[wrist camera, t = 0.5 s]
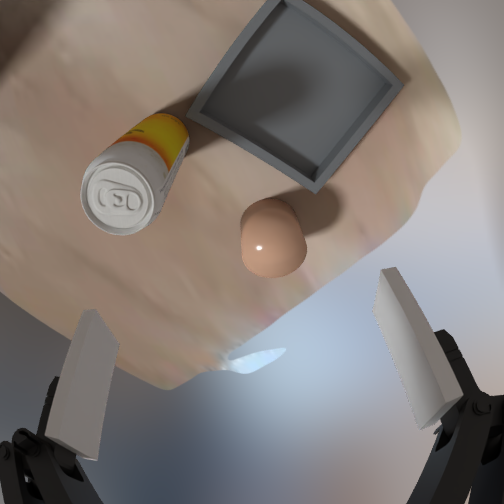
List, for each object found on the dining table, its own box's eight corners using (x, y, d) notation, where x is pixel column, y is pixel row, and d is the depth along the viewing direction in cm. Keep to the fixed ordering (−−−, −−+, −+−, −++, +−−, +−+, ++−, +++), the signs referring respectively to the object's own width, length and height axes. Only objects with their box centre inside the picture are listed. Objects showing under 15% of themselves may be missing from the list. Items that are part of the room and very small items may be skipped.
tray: (188, 111, 28) (185, 116, 26) (275, -9, 21) (279, -15, 19) (310, 184, 34) (315, 194, 32) (392, 82, 27) (404, 85, 24)
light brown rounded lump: (229, 232, 37) (229, 262, 33) (261, 188, 34) (266, 213, 29) (275, 255, 40) (281, 286, 35) (308, 216, 37) (319, 244, 32)
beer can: (139, 109, 27) (74, 152, 15) (194, 116, 28) (165, 162, 16) (134, 161, 31) (78, 233, 19) (185, 168, 32) (157, 246, 20)
